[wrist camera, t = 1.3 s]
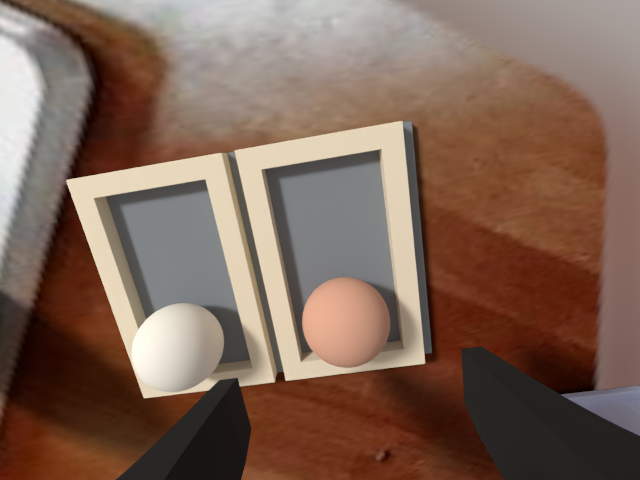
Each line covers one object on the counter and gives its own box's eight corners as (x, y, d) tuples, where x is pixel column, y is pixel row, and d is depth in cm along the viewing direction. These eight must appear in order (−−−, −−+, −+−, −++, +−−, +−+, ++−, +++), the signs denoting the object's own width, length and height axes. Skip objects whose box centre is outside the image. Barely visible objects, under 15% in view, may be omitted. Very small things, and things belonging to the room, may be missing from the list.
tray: (409, 121, 14) (416, 118, 13) (429, 348, 17) (437, 362, 16) (74, 180, 15) (53, 182, 14) (146, 384, 18) (133, 399, 17)
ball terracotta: (377, 260, 16) (393, 292, 12) (386, 330, 16) (403, 382, 13) (299, 271, 16) (289, 307, 12) (312, 340, 17) (307, 394, 13)
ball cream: (209, 405, 13) (240, 364, 17) (194, 308, 13) (229, 291, 17) (117, 416, 13) (169, 373, 17) (102, 321, 13) (158, 301, 17)
